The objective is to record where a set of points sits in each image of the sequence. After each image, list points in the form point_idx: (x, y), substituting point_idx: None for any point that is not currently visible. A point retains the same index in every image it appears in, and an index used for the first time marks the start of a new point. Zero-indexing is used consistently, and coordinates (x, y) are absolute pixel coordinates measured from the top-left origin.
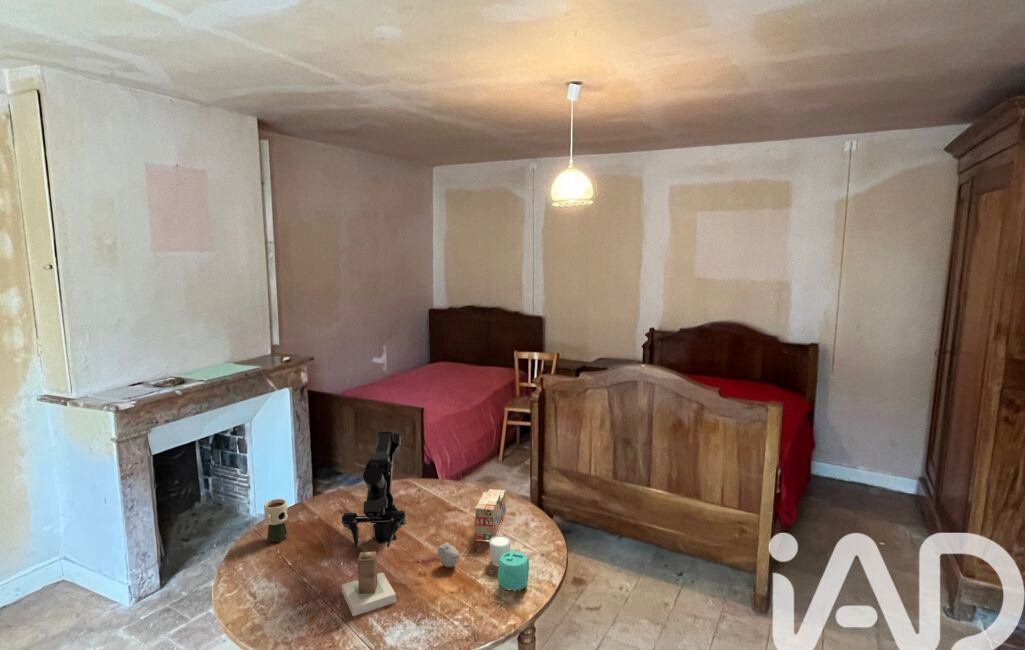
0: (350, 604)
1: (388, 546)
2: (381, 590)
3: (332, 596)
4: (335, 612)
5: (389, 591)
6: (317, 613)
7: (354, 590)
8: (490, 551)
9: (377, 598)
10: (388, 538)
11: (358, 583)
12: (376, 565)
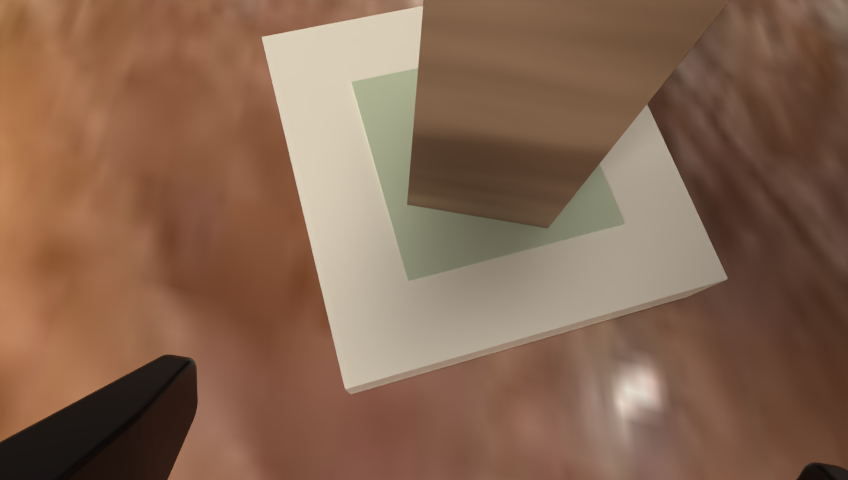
0: None
1: (164, 358)
2: (374, 104)
3: (753, 268)
4: (688, 87)
5: (308, 80)
6: (806, 108)
7: (601, 164)
8: None
9: (409, 24)
10: (67, 457)
11: (579, 258)
12: (416, 94)
